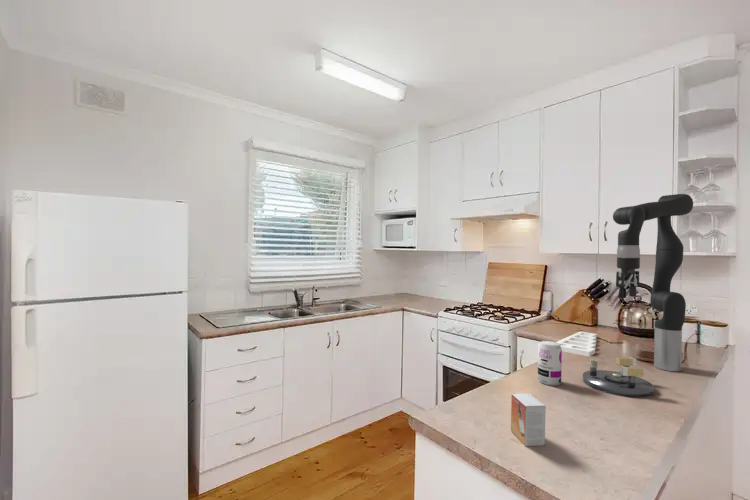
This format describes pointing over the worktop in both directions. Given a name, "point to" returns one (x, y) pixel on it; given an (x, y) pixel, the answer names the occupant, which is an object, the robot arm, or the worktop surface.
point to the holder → (579, 343)
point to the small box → (528, 419)
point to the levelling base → (617, 384)
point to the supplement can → (549, 362)
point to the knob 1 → (593, 366)
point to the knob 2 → (631, 374)
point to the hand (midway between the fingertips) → (627, 297)
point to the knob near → (626, 361)
